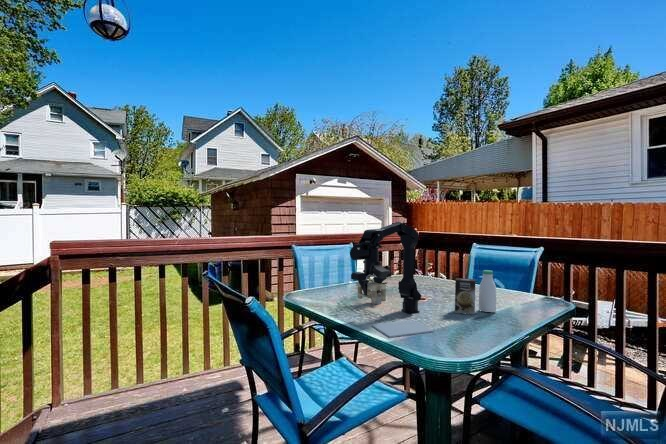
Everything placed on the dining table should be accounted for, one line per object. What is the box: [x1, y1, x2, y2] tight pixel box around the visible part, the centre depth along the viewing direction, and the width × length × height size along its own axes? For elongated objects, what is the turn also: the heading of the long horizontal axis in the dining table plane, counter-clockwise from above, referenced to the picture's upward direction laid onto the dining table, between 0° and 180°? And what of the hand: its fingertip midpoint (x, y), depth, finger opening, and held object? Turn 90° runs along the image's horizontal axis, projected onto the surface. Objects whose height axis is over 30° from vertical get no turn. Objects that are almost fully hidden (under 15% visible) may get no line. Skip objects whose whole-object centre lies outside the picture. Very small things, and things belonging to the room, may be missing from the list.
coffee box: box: [454, 277, 476, 315], centre depth 164 cm, size 9×6×16 cm
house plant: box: [367, 276, 389, 305], centre depth 180 cm, size 14×14×16 cm
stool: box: [357, 280, 387, 304], centre depth 149 cm, size 6×11×7 cm, turn 34°
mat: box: [371, 319, 435, 339], centre depth 139 cm, size 20×15×1 cm
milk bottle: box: [478, 269, 497, 313], centre depth 166 cm, size 8×8×20 cm
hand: (371, 294), depth 149 cm, fingers closed on stool, 6 cm apart
